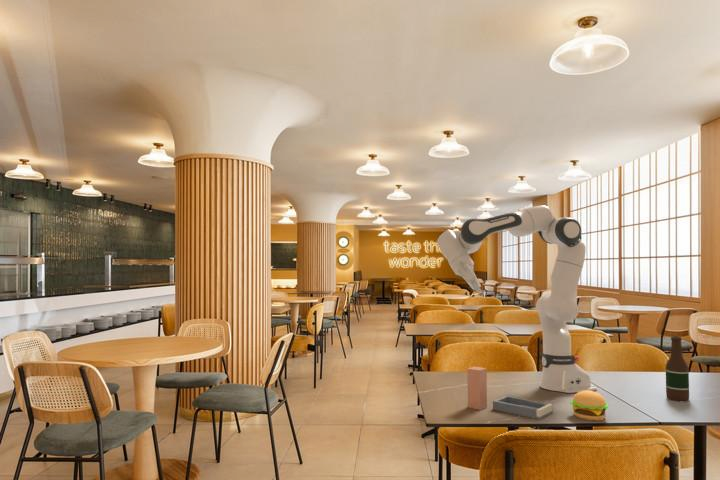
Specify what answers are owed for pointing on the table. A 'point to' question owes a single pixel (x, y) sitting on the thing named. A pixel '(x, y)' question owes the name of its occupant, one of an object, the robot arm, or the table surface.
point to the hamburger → (589, 405)
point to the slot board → (522, 407)
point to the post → (477, 387)
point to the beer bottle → (677, 373)
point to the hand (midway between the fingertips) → (481, 294)
